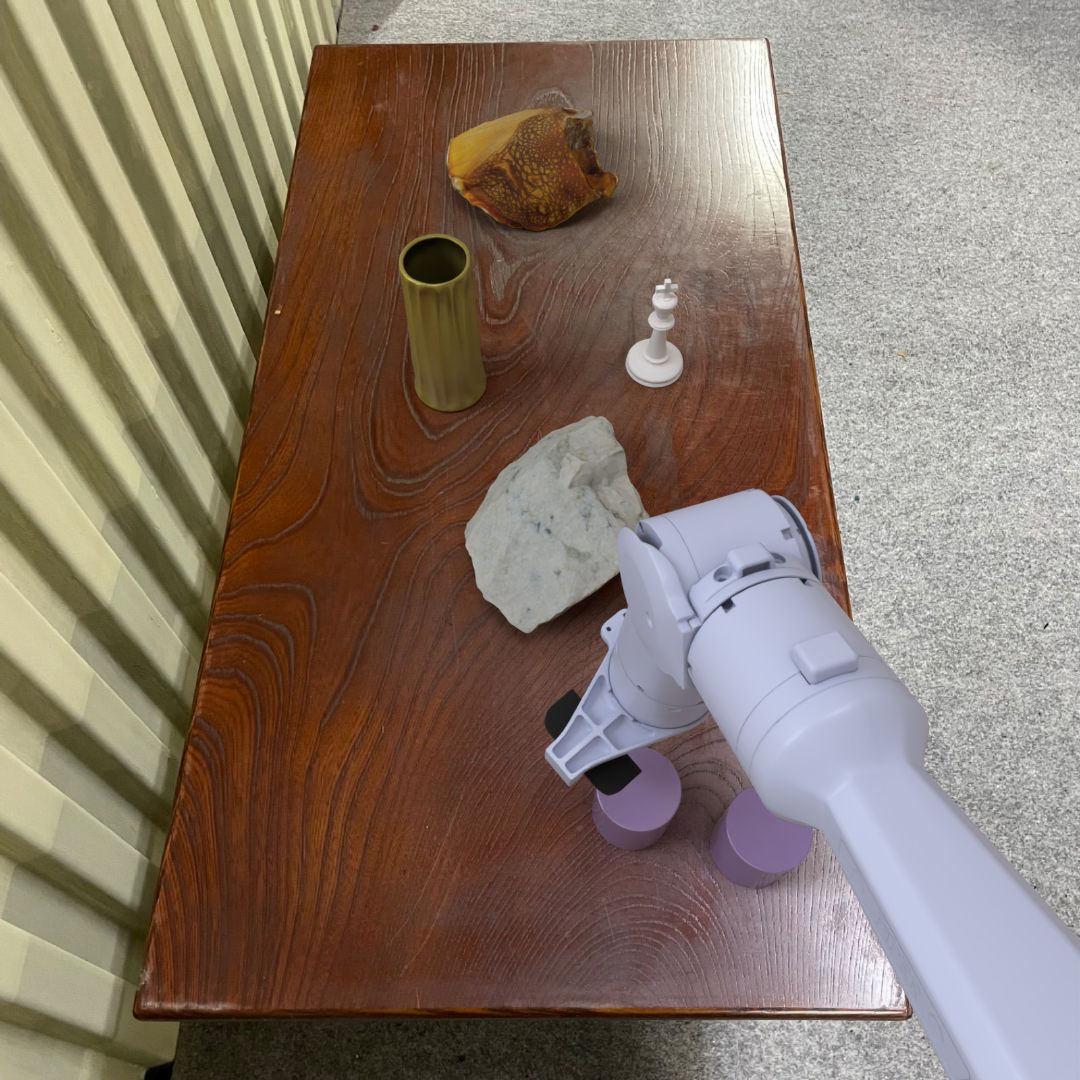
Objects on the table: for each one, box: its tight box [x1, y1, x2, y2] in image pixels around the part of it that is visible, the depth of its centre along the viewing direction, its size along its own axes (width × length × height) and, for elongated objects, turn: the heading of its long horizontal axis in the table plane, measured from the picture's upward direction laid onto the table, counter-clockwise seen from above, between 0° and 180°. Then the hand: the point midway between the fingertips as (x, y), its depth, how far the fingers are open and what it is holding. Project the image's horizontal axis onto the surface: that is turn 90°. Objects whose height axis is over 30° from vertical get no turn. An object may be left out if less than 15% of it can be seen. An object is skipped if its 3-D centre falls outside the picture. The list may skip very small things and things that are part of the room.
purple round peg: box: [710, 785, 814, 890], centre depth 59 cm, size 5×5×6 cm
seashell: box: [445, 104, 620, 232], centre depth 89 cm, size 17×8×15 cm
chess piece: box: [625, 278, 684, 388], centre depth 76 cm, size 5×5×10 cm
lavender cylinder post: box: [591, 746, 682, 852], centre depth 60 cm, size 5×5×6 cm
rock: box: [464, 415, 651, 635], centre depth 69 cm, size 15×16×8 cm
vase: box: [398, 233, 488, 413], centre depth 74 cm, size 6×6×14 cm
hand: (641, 715), depth 57 cm, fingers open, 7 cm apart
